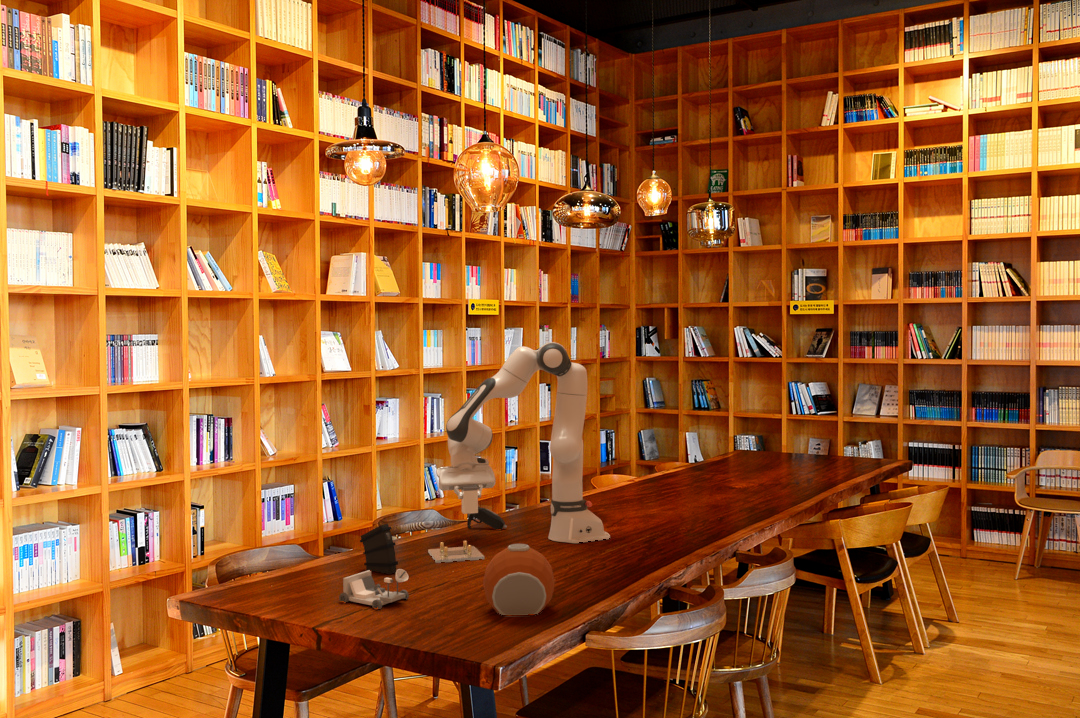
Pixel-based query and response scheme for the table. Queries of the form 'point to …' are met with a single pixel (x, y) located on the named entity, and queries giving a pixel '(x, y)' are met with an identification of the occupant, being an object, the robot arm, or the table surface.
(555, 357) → the robot arm
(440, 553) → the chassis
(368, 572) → the toy lunar rover
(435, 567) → the table surface
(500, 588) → the alarm clock
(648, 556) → the table surface
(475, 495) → the block
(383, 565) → the black ribbed panel
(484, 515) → the gun
